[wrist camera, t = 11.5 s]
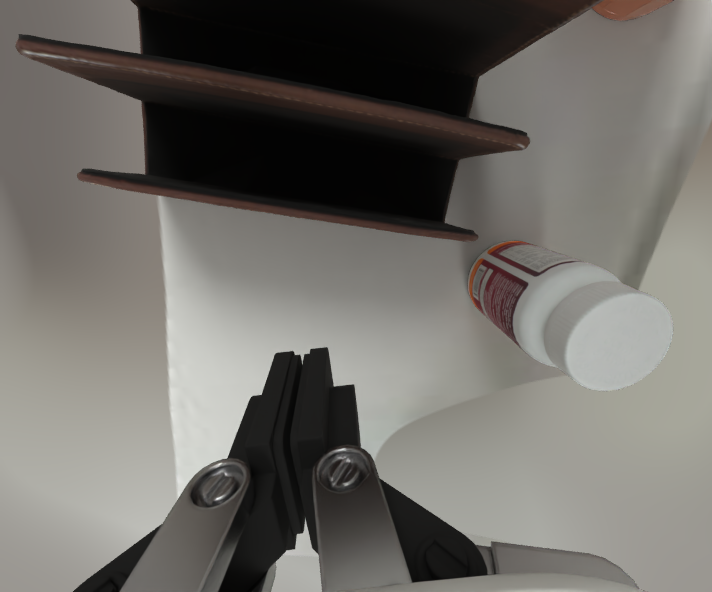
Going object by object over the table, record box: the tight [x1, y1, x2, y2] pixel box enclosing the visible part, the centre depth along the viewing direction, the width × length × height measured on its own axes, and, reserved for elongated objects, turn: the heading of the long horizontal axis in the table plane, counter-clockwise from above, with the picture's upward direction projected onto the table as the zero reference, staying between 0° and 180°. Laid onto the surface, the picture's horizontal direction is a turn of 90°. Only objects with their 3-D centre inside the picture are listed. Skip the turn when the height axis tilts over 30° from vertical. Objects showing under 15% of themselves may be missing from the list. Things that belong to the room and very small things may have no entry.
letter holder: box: [16, 0, 604, 242], centre depth 15 cm, size 10×20×14 cm, turn 81°
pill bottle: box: [468, 241, 673, 391], centre depth 21 cm, size 6×6×11 cm
